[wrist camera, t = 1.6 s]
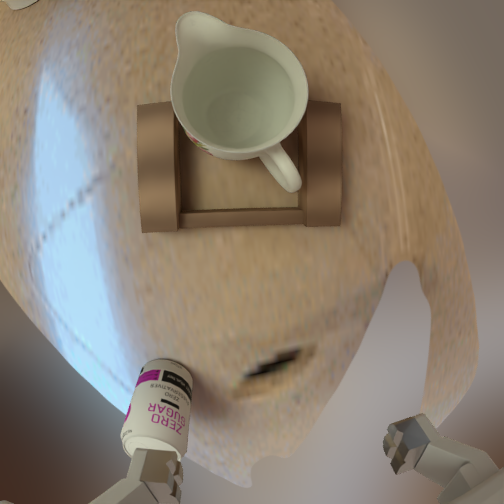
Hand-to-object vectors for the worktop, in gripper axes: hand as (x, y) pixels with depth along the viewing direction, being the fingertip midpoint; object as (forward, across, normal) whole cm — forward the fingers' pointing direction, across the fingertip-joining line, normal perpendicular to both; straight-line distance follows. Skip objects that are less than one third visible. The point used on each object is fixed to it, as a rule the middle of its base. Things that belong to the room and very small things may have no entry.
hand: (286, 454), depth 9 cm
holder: (+28, 0, -11) cm, 30 cm away
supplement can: (+29, +14, +18) cm, 37 cm away
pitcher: (+28, 0, -16) cm, 32 cm away
